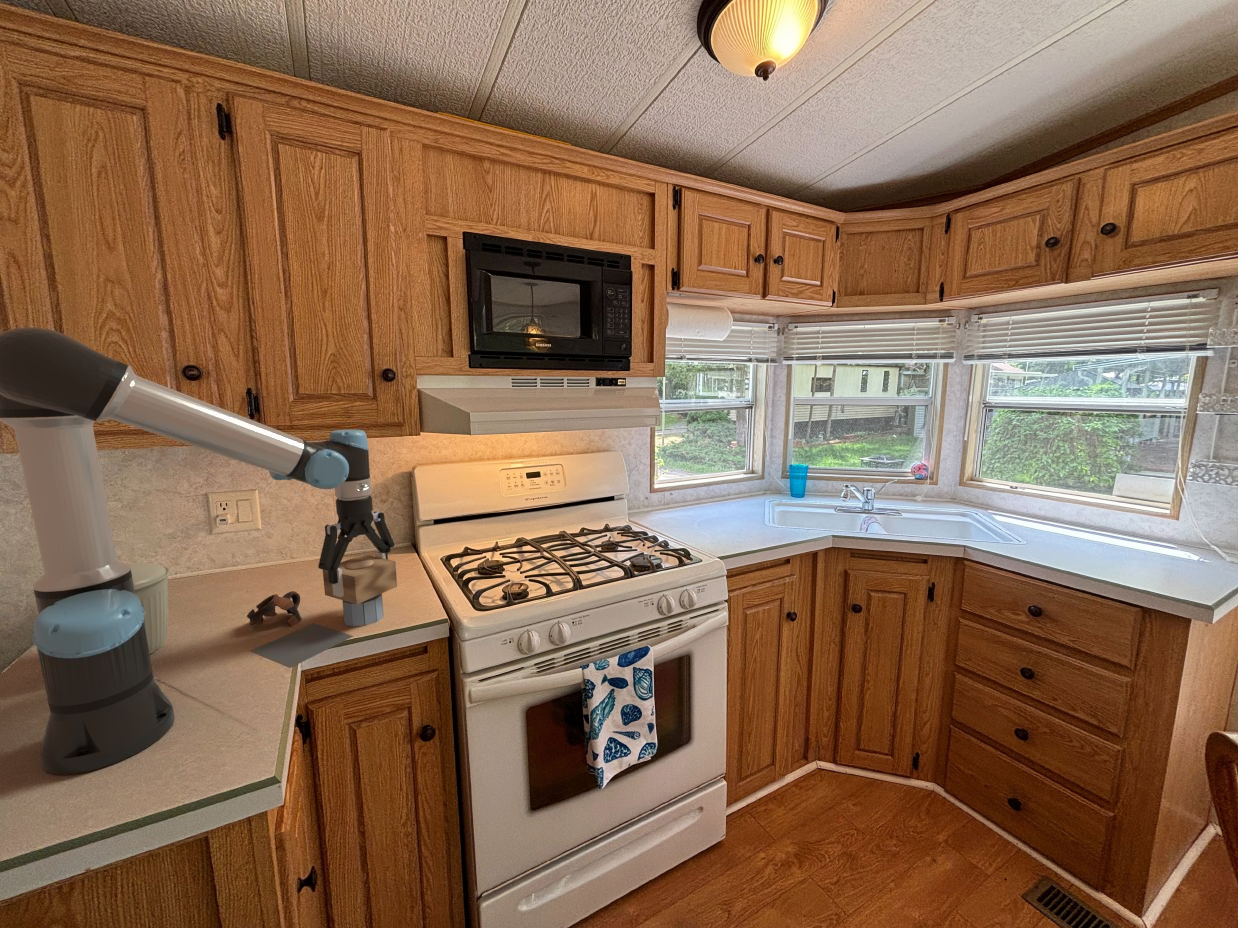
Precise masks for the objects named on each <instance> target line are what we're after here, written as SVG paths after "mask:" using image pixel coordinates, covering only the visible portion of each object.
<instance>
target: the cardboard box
mask: <svg viewBox="0 0 1238 928" xmlns="http://www.w3.org/2000/svg"><path fill="white" fill-rule="evenodd" d="M338 568H340V569H342V580H343V591H344V596H343V597H338V596H335V595H333V587H332V584H331V583H330V582H329V577H328V571H327V570H323V569H322V578H323V586H324V596H327V597H331V598H335V599H337V600H340V601H342V600H343V601H347V602H350V603H354V604H359V603H361V602H363V601H366V600H368V599H370V598H373V597H375V596H377V595H379V594H382V595H383V594H384V593H386V592H388V591H390V590H393V589H394V588H397V587H398V579H397V564H396V561H395V560H391V559H389V558H388V559H383V558H379V557H375V555H370V554H366V553H364V554H361V555H357V556H355V557H352V558H349V559H346V560H342V561H341V563H340V565H339V567H338Z"/></svg>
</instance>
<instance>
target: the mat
mask: <svg viewBox="0 0 1238 928" xmlns="http://www.w3.org/2000/svg"><path fill="white" fill-rule="evenodd" d="M353 637H354V635H352V634H349V633H345V632H343V631H340V630H337V629H334V628H330V627H328V626H324V625H321V624H319V623H315V622H312V623H310V624H308V625H305V626H303V627H301V628H299V629H298V628H297V630H294V631H292V632H289V633H287V634H285V635H282V636H280V637H278V638H276V639H273V640H271V641H269V642H267V643H264V644H262V645H259V646H257V647H256V648H253V649H250V650H249V652H251V653H253V654H256V655H258V656H260V657H263V658H265V659H268V660H271V661H272V662H275V663H277V664H281V665H283V666H284V667H285V666H286V667H287V668H290V669H291V668H293V667H295V666H297V665H299V664H301V663H303V662H305V661H307V660H308V659H311V658H313V657H315V656H317V655H319V654H321V653H324V652H325V651H327V650H329V649H331V648H333V647H335V646H337V645H339V644H341V643H343V642H345V641H347V640H349V639H351V638H353Z"/></svg>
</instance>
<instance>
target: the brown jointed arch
mask: <svg viewBox="0 0 1238 928" xmlns="http://www.w3.org/2000/svg"><path fill="white" fill-rule="evenodd" d="M291 599H292V600H291ZM300 603H301V595H300V594H299V593H298V592H296V591H295V590H294V591H293V590H291V591H289V592H286V593H285V594H283V596H279V594H278V593H274V594H272V595H269V596H268V597H266V598H265V599H264V600H262V601H261V602H259V603H258V604H257V605H256V606H255V607H256V608H257V610H256V611H255V609H251V610H249V612H248V613H247V615H246V618H248V619H249V625H250V626H251V627H252V626H255V625H260V626H262V625H263V621H264V617H273V618H274V617H275V616H276V617H277V616H278V613H277V612H276V607H278V608H280V609H281V610H284V611H286V613H287V615H292V616H291V617H290V618H289V619H288V620H287V623H288V624H289V625H290V627H292V628H293V627H295V626H296V625H298V624H299V623H300V622H301V621H302V617H301V615H300V612H299V610H298V608H299V605H300ZM263 616H264V617H263Z"/></svg>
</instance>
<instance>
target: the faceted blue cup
mask: <svg viewBox="0 0 1238 928" xmlns="http://www.w3.org/2000/svg"><path fill="white" fill-rule="evenodd" d="M341 602H342V611H343V621H344V625H346V626H349V627H364V626H368V625H372V624H375V623H377V622H378V621H380V620H382V619H383V617H384V615H385V613H384V603H383V602H384V601H383V593H382V594H379V595H377V596H375V597H373V598H370V599H368V600H366V601H363V602H361V603H359V604H354V603H350V602H347V601H343V600H341Z"/></svg>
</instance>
